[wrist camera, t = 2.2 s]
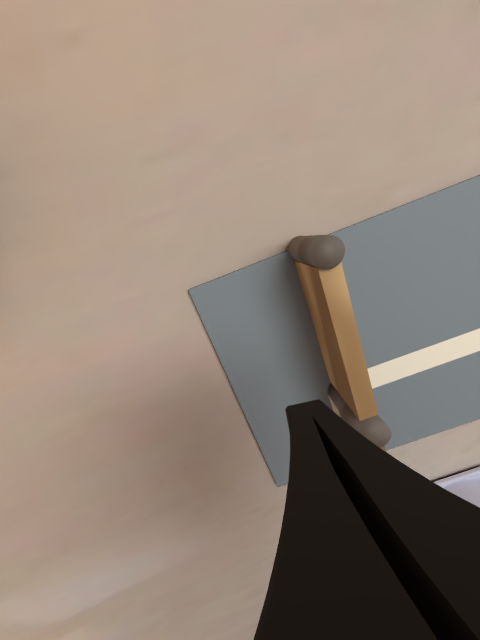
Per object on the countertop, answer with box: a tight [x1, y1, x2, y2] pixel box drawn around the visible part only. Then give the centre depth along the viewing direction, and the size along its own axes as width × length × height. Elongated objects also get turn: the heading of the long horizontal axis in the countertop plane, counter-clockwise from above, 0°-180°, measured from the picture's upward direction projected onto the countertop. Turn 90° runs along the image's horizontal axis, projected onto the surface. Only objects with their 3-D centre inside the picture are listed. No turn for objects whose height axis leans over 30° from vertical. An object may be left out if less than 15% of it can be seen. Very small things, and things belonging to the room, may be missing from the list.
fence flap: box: [288, 235, 378, 421], centre depth 16 cm, size 2×11×5 cm, turn 21°
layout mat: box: [188, 175, 480, 487], centre depth 20 cm, size 22×20×1 cm
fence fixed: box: [328, 383, 392, 452], centre depth 19 cm, size 2×10×5 cm, turn 21°
